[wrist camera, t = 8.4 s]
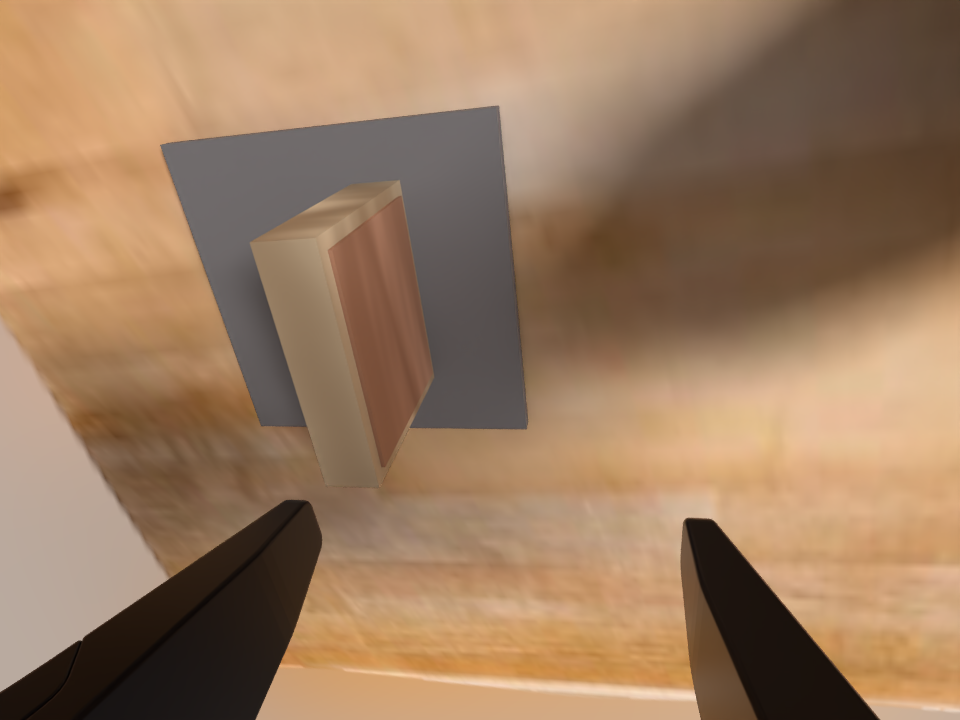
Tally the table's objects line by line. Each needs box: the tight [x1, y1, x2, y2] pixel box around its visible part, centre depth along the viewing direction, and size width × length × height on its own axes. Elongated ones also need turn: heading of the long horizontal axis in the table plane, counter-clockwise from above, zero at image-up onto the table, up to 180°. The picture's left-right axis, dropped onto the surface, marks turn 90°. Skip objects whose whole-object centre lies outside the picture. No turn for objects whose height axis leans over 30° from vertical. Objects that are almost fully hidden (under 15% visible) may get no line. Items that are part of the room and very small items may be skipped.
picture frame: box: [250, 180, 434, 488], centre depth 17 cm, size 2×7×6 cm, turn 7°
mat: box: [160, 106, 528, 429], centre depth 20 cm, size 11×11×1 cm
